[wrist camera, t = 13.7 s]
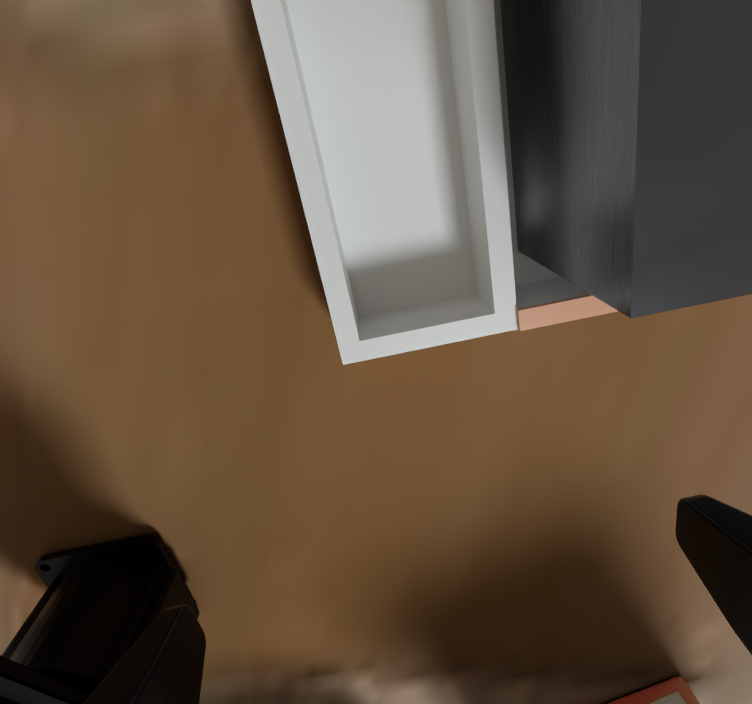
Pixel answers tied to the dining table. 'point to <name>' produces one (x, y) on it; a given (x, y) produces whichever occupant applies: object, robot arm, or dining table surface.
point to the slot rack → (408, 171)
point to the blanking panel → (633, 146)
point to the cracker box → (662, 694)
